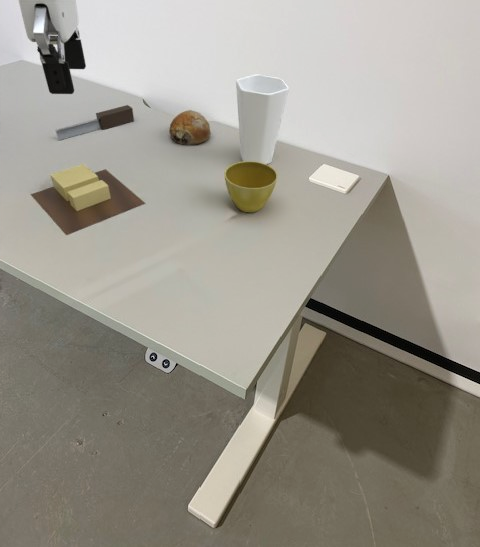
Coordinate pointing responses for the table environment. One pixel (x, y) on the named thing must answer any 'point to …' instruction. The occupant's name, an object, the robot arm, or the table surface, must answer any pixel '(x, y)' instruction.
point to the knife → (99, 122)
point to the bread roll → (189, 128)
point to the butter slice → (89, 195)
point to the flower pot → (250, 184)
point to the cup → (260, 115)
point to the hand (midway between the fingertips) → (69, 80)
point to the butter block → (72, 179)
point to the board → (91, 215)
